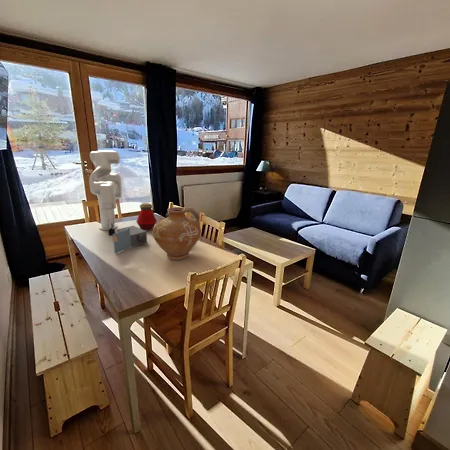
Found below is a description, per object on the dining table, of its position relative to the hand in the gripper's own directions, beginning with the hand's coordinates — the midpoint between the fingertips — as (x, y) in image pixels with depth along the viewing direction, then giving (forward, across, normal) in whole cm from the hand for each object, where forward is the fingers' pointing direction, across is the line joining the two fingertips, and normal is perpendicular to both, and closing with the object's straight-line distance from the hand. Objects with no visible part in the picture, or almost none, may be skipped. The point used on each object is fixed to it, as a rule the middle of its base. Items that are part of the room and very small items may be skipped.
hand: (112, 235), depth 149 cm
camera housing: (+12, -15, +12) cm, 22 cm away
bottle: (+12, -41, +22) cm, 48 cm away
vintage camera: (+12, -17, +41) cm, 45 cm away
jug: (+11, +14, +37) cm, 41 cm away
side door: (+11, -1, +6) cm, 12 cm away
